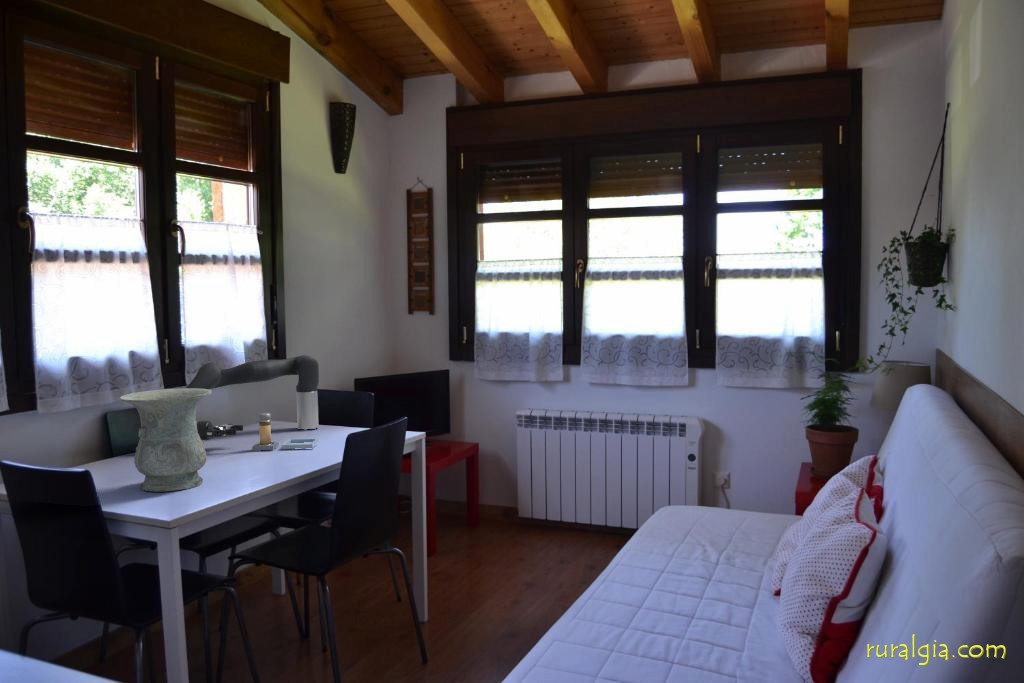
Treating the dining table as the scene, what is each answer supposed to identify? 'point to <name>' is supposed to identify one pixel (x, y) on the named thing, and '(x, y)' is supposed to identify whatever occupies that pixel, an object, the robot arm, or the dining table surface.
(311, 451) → the dining table surface
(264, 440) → the grey capped cylinder
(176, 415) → the vessel
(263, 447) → the socket block
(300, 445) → the parts tray
